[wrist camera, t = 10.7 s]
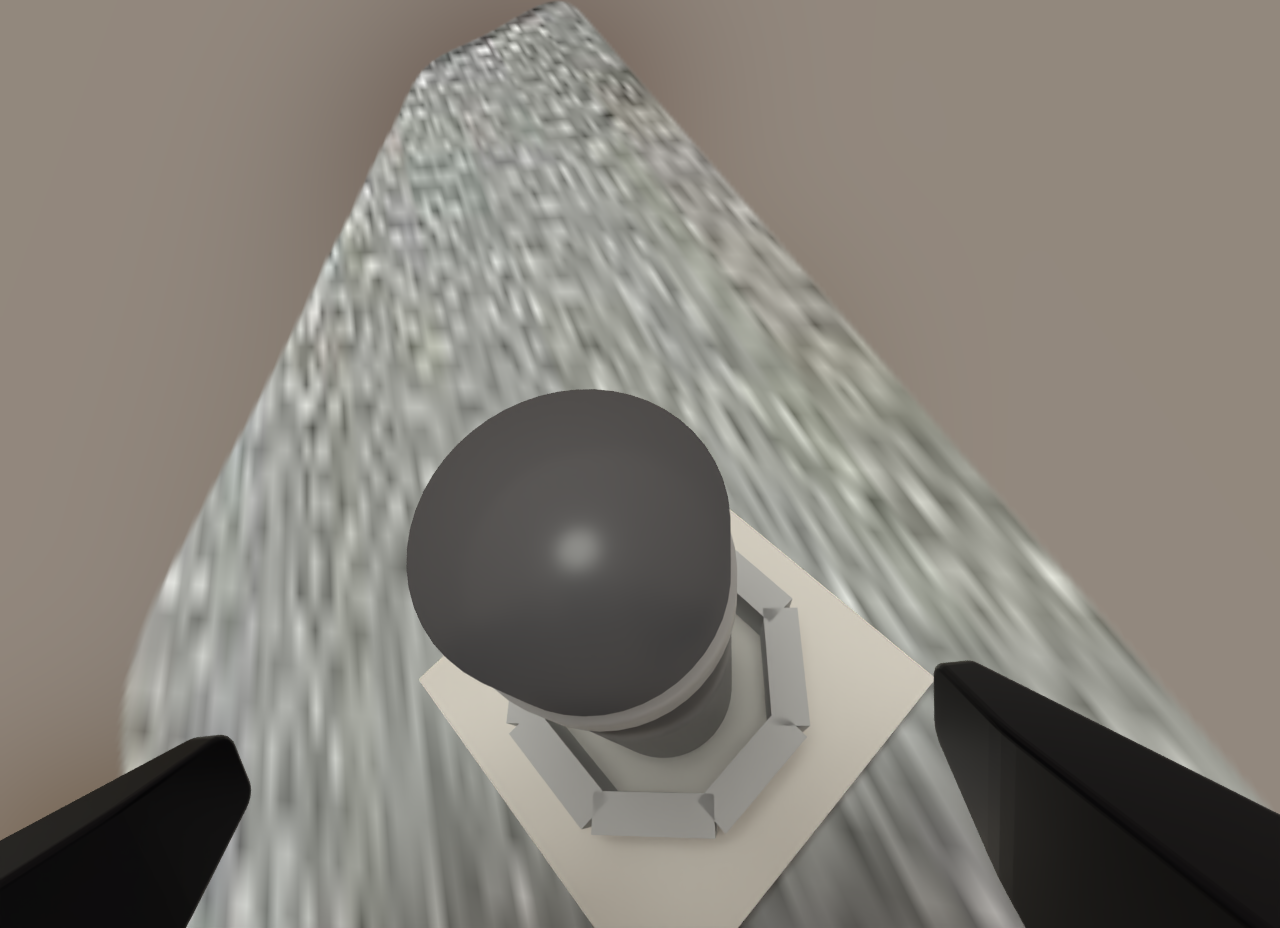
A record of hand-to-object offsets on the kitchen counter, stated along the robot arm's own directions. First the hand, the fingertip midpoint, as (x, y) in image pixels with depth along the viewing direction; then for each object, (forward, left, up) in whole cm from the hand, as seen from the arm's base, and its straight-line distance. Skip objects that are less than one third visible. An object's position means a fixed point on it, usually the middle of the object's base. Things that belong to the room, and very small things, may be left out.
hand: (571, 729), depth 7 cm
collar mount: (+2, -2, -13) cm, 14 cm away
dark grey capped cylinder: (+2, -2, -12) cm, 13 cm away
